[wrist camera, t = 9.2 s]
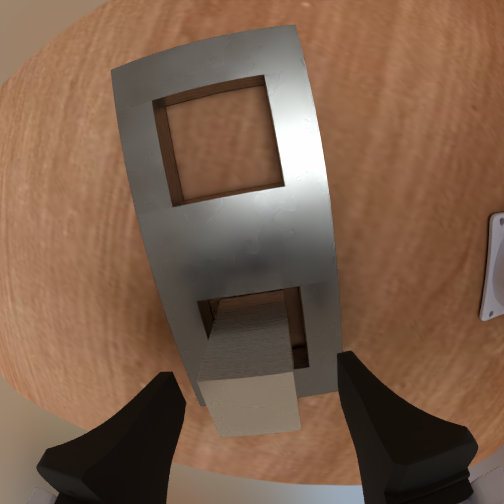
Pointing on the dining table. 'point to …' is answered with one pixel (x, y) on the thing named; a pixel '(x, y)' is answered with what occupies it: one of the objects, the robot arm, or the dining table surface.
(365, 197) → the dining table surface
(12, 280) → the dining table surface
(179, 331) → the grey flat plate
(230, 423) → the grey square peg
